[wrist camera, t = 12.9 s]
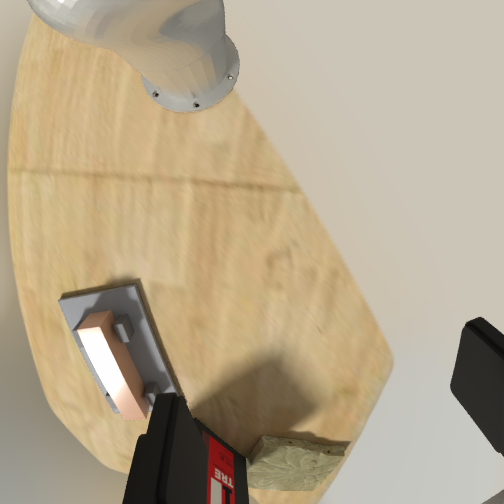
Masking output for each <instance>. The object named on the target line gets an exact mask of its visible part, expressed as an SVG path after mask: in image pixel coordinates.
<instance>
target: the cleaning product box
mask: <svg viewBox="0 0 504 504" xmlns="http://www.w3.org/2000/svg"><path fill="white" fill-rule="evenodd" d="M193 420H194V422H195V424H196V426H197V428H198V431H199V433H200V435H201V437H202V439H203V441H204V443H205V445H206V448H207V452H208V466H207V497H206V504H249V495H248V481H247V466H246V458H244V457H243V456H242V455H241V454H239V453H238V452H237V451H235V450H234V449H233V448H232V447H230V446H229V445H228V444H227V443H225V442H224V441H223V440H222V439H220V438H219V437H218V436H217V435H215V434H214V433H213V432H212V431H211V430H210V429H208V428H207V427H206V426H205V425H204V424H203V423H201V422H200V421H199V420H198V419H197V418H194V419H193Z"/></svg>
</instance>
